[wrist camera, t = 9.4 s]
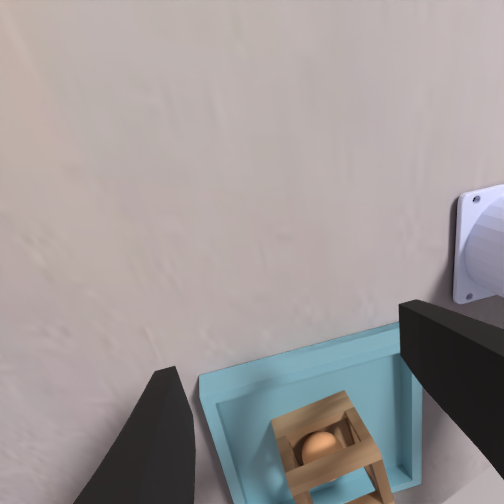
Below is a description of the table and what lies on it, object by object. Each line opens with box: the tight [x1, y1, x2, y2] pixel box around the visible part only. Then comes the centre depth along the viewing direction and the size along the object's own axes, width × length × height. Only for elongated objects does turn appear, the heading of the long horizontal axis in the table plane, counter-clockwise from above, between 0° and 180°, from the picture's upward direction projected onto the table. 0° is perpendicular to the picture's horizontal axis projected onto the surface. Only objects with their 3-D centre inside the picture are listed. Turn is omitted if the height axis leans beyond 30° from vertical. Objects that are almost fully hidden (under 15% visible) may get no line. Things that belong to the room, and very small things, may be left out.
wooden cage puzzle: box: [271, 390, 395, 504], centre depth 23 cm, size 6×6×5 cm
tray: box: [199, 322, 423, 504], centre depth 25 cm, size 15×15×2 cm
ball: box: [302, 431, 344, 481], centre depth 23 cm, size 3×3×3 cm
